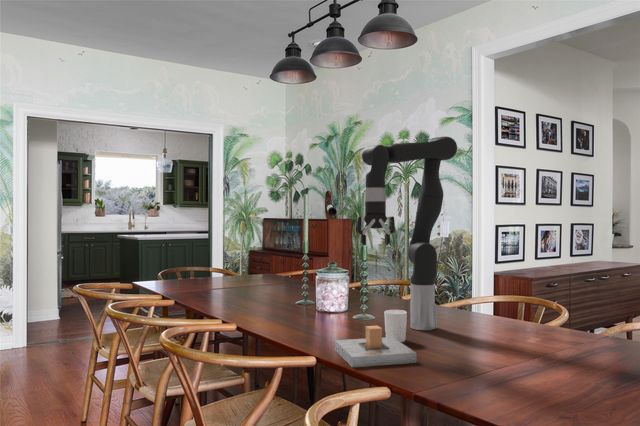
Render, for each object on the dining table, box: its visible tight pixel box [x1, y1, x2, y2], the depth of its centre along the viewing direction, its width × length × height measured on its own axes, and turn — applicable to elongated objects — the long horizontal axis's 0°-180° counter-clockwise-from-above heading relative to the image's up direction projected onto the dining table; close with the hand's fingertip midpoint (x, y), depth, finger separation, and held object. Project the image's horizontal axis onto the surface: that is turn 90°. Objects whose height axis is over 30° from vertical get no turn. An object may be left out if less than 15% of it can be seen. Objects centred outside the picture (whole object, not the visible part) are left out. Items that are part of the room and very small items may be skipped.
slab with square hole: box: [334, 336, 417, 368], centre depth 159 cm, size 20×20×3 cm
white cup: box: [383, 309, 408, 343], centre depth 179 cm, size 8×8×10 cm
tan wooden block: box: [365, 325, 383, 348], centre depth 159 cm, size 4×4×9 cm
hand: (375, 245), depth 185 cm, fingers open, 8 cm apart
